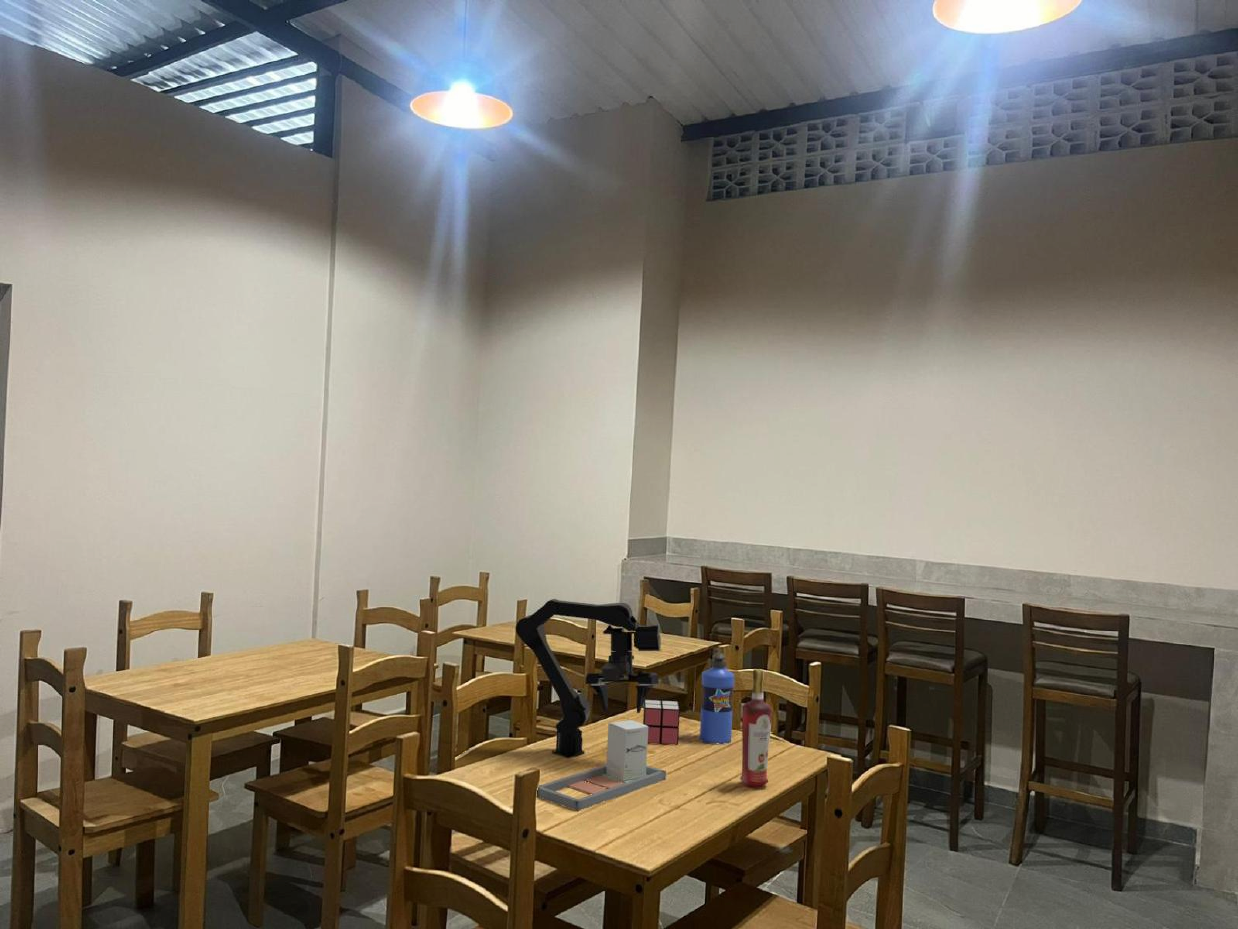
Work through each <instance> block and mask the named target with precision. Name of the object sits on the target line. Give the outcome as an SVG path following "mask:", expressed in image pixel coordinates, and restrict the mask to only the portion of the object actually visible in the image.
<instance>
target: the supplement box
mask: <svg viewBox="0 0 1238 929" xmlns="http://www.w3.org/2000/svg"><path fill="white" fill-rule="evenodd" d="M607 728H608V729H607V742H606V743H607V744H606V745H607V746H606V760H605V761H606V764H605V765H606V773H607V774H608V775H610V776H612V777H614V778H616V779H619V780H620V781H625V780H630V779H636V778H641V777H644V776H646V765H647V761H648V760H647V758H648V744H649V743H648V726H646V725H644V724H643V723H641V722H637V721H636V720H632V719H629V720H622V721H621V720H620V721H613V722H608V727H607Z"/></svg>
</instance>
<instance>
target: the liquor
mask: <svg viewBox="0 0 1238 929" xmlns="http://www.w3.org/2000/svg"><path fill="white" fill-rule="evenodd" d="M752 670H753V673H752V674H753V675H752V677H753V685H752V692H751V700H750V701H747V702H746V703H744V704H743V705H742V706H741V712H742V713H741V714H742V716H741V718H742V719H741V720H742V721H741V729H742V730H741V736H742V743H741V744H742V749H741V751H742V756H741V757H742V760H741V762H742V763H741V765H742V766H741V775H740V778H739V779H740V781H741V783H743V785H744V786H745V787H747V788H750V787H751V789H760V788H763V787H764V786H765V785H767V783H769V779H768V776H767V775H768V773H767V772H768V760H769V749H770V738H771V729H772V728H771V727H772V714H773V707H771V706H770V705H769V704H768V703H766V702H765V700H764V685H763V684H764V679H765V669H761V668H754V669H752Z"/></svg>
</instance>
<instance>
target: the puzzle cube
mask: <svg viewBox="0 0 1238 929" xmlns="http://www.w3.org/2000/svg"><path fill="white" fill-rule="evenodd" d="M680 709H681V708H680V706H679V702H678V701H671V700H662V701H661V700H653V699H652V700H651V699H645V700H644V703H643V714H642V715H643V718H642V724H644V725H646V726H648V744H649V743H660V745H668V744H675V745H674V746H678V745H679V737H680V736H679V735H680V714H681V713H680V712H681V710H680Z"/></svg>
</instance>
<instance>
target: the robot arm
mask: <svg viewBox="0 0 1238 929" xmlns="http://www.w3.org/2000/svg"><path fill="white" fill-rule="evenodd" d="M554 616H562V617H568V618H569V617H571V618H579V619H580V618H581V619H588V620H595V621H599V622H601V623H604V624H607V625H608V626H607V627H606V628H605V630H603V631H602V633H603V635H610V655H608V661H607V663H605V664H604V665H603V666H602V667H601V672H588V673H587V674H586V675H585V677H584V679H585V681H584V682H585V685H589V688H592V689H593V690H595V692H596V693H597V696H598V698H599V701H600V704H601V706H602V710H603V712H604V713H605V714H606V713H608V710H609V709H608V707H609V685H608V684H606V683H637V684H638V685H635V688H636V691H637V693H636V713H637V714H640V713H641V710H642V708H643V706H644V701H645V700H646V699H647V698H646V697H647V696H648V693H649V691H650V689H651V688H654V686H655V685H656V684H657V685H658V684H659V675H658V674H657V673H656V672H638V673H637V674H635V671H634V670H633V660H635V655H634V654H633V647H634V648H635V649H637V650H638V652H660V651H661V647H662V643H661V642H662V640H661V635H660V629H659V624H652V625H641V624H640V622H638V620H637V619H636V618H635V617H634V615H633V610H632V607H631V606H630V605H629V604H628V603H626V602H612V603H604V604H595V603H585V602H576V601H567V600H559V599H556V598H552V599H550V600H547V601H546V602H545V603H544V604H543V605H542V606H541V607H540V608H539V609H537V610H536V611H535V612H534V613H532V614H529V615H526V616H524V617H523V618H521V619H519V620H518V621H517V623H516V626H515V633H516V635H517V636H518V638H519V639H520V641H522V642H523V644H524V645H525V646H526V647H528V648H529V649H530V650H531V651H532V652H533V653H534V655H535V658H536V659H537V661H538V663H539V665H540V666H541V669H542V670H543V671H544V673H545V675H546V677H547V679H548V680H549V683H550V684H551V687H552V689H553V690H554V691H555V693H556V695H557V696H558V699H559V705H560V709H561V712H562V714H563V715H562V716H563V717H562V718H561V719H560V720H559V721H558V722H557V723H556V724H555V729H556V742H555V743H556V746H555V749H552V750H551V753H552V754H556V755H559V756H562V757H565V758H572V757H577V756H579V755H583V754H586V751H585V750H583V738H584V737H583V734H582V733H583V730H581V729H580V728H581V727H582V726H584V724H585V723H586V721H588V720H589V718H590V714H591V708H590V706H591V703H590V701H588V699H587V698H586V695H585V693H584V691H581V692H579V693H578V692H577V691H576V690H575V689H574V688H573V686H572V685H571V683H570V681H569V679H568V677H567V675H566V673H565V672H564V670H563V668H562V667H561V664H560V663H559V662H558V660H557V658H556V656H555V654H554V652H553V650H552V648H551V647H550V645H549V643H548V639H547V635H546V631H545V628H544V625H545V624H546V623H547V622H548V621H549V620H551V618H553V617H554ZM625 676H626V677H625Z"/></svg>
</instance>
